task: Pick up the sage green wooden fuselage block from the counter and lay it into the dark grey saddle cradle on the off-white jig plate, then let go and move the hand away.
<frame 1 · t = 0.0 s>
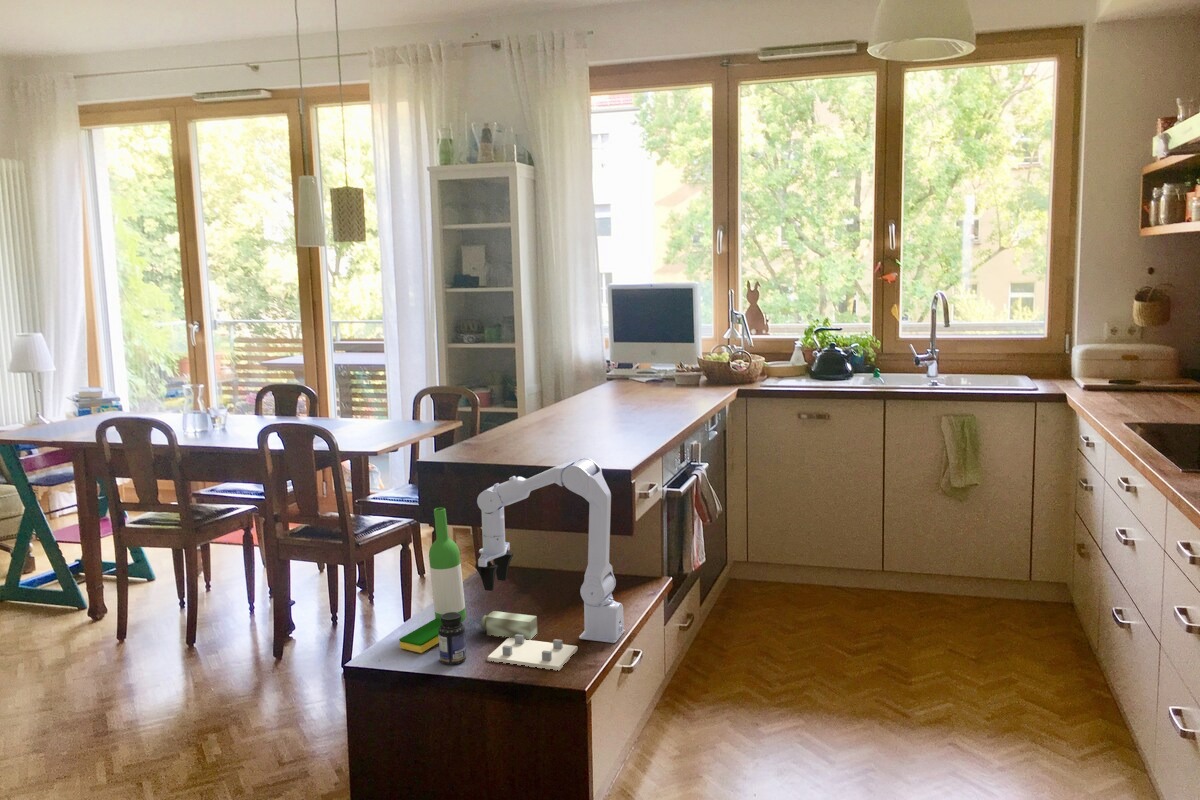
hand: (495, 585, 250), 10 cm above the table, tool pointing down, fingers open, 7 cm apart
pill bottle: (453, 661, 230), on the table
fuselage: (512, 635, 244), on the table
cradle jig: (533, 655, 231), on the table
dish sponge: (429, 640, 240), on the table, touching wine bottle
wine bottle: (451, 622, 250), point 1 cm above the table, touching dish sponge
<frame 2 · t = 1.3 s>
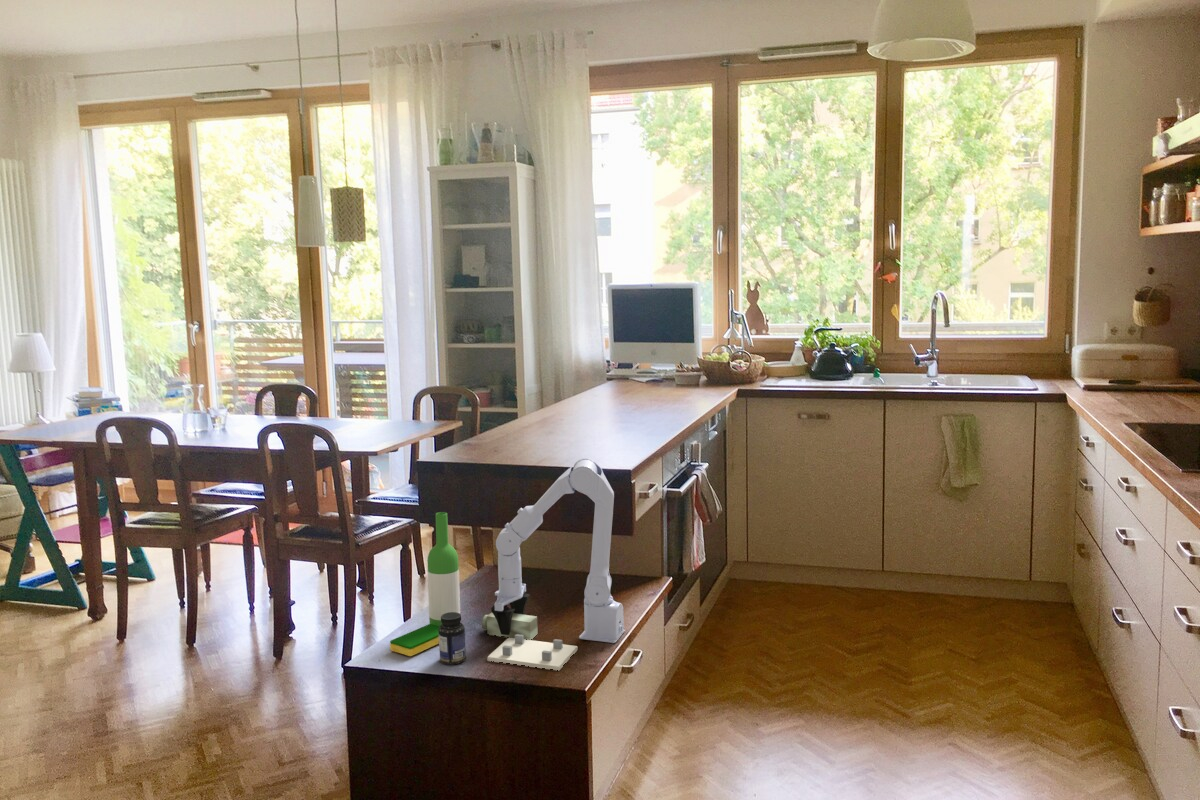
hand: (511, 628, 244), 2 cm above the table, tool pointing down, fingers open, 7 cm apart
dish sponge: (420, 645, 238), on the table, touching wine bottle
wine bottle: (445, 629, 248), on the table, touching dish sponge
everything else where it was.
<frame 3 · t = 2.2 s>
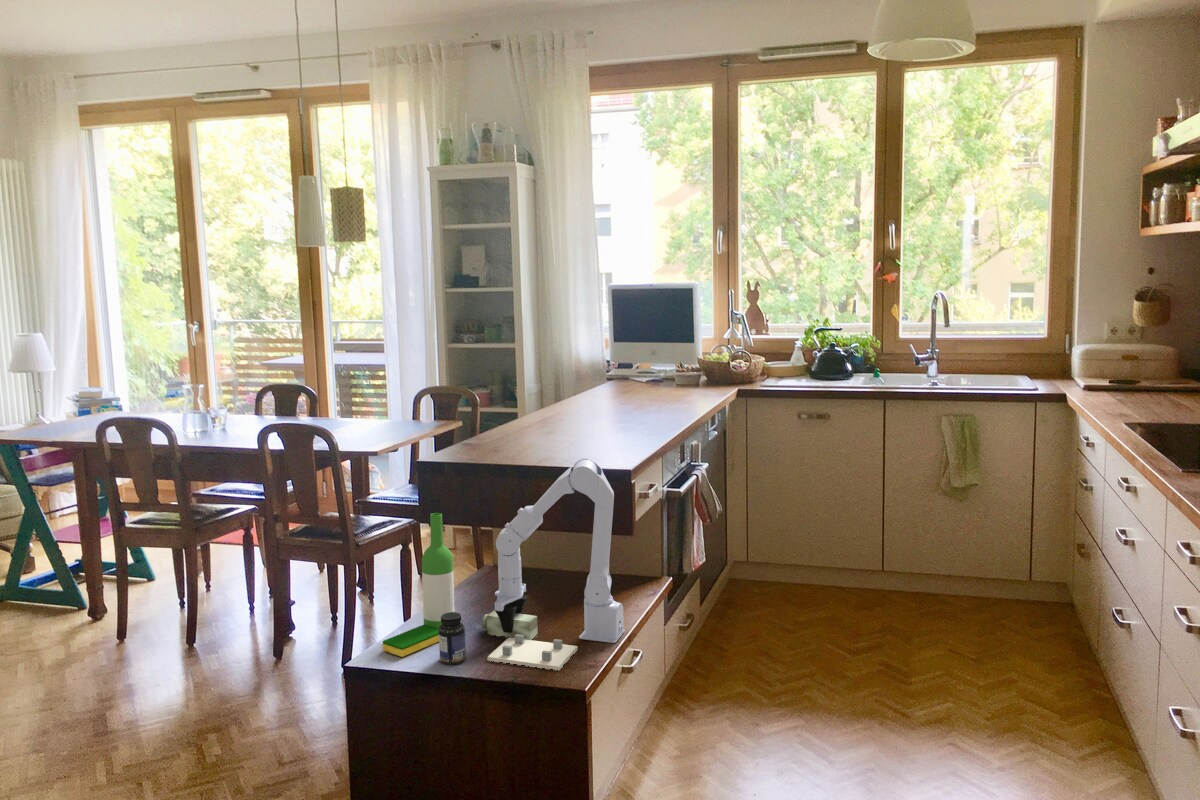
hand: (511, 628, 244), 2 cm above the table, tool pointing down, fingers closed on fuselage, 4 cm apart
fuselage: (512, 634, 244), on the table, touching gripper
dish sponge: (413, 645, 238), on the table, touching wine bottle
wine bottle: (439, 630, 248), on the table, touching dish sponge
everything else where it was.
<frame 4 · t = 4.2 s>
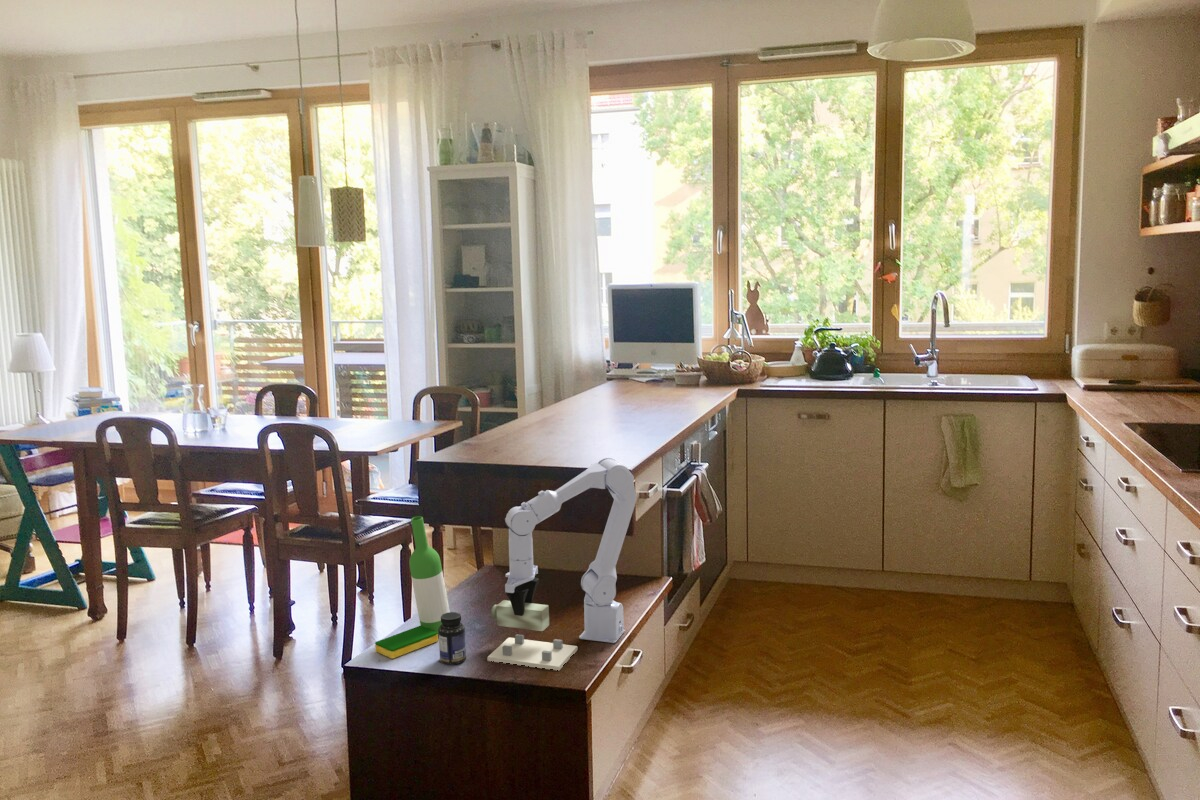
hand: (522, 611, 235), 9 cm above the table, tool pointing down, fingers closed on fuselage, 4 cm apart
fuselage: (523, 625, 236), point 5 cm above the table, touching gripper
dish sponge: (407, 647, 238), on the table, touching wine bottle
wine bottle: (437, 628, 247), point 1 cm above the table, touching dish sponge
everything else where it was.
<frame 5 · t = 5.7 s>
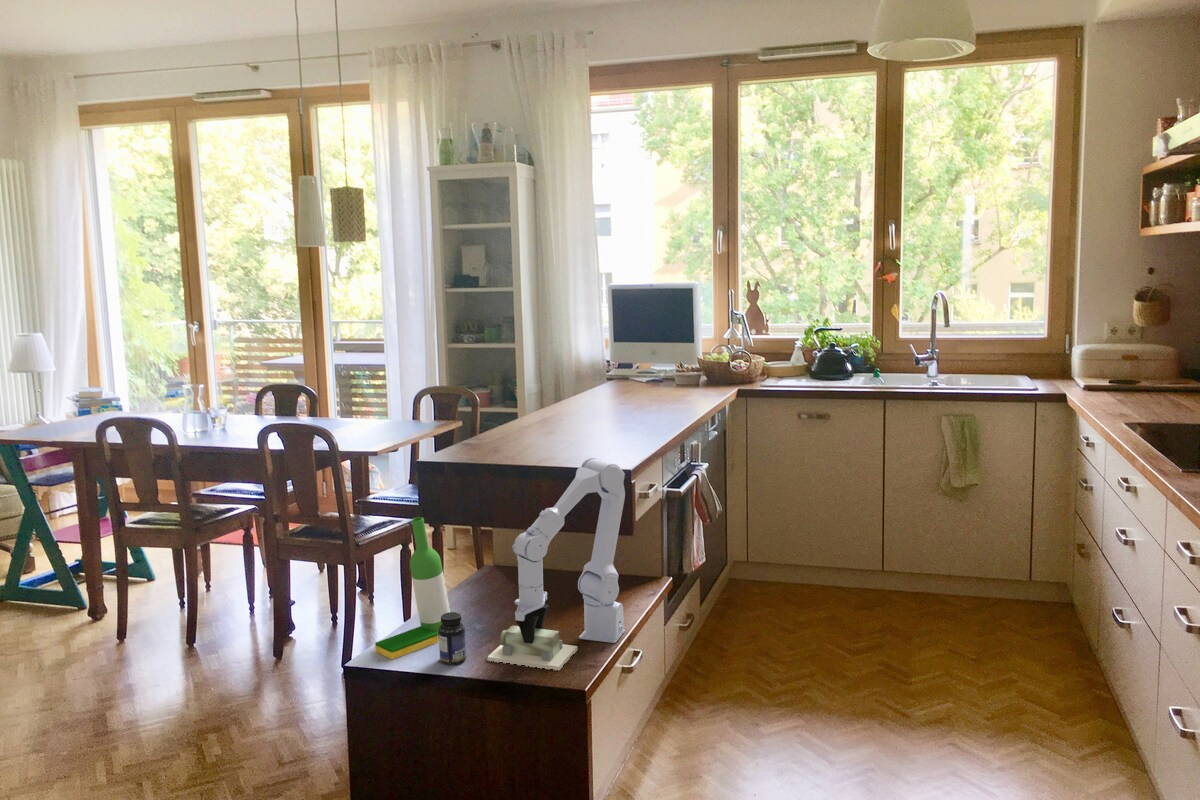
hand: (532, 638, 231), 4 cm above the table, tool pointing down, fingers closed on fuselage, 4 cm apart
fuselage: (532, 651, 231), point 1 cm above the table, touching cradle jig, gripper
everything else where it was.
when the fingers open (4 cm above the table, at t = 6.3 s): fuselage stays where it is, resting on cradle jig.
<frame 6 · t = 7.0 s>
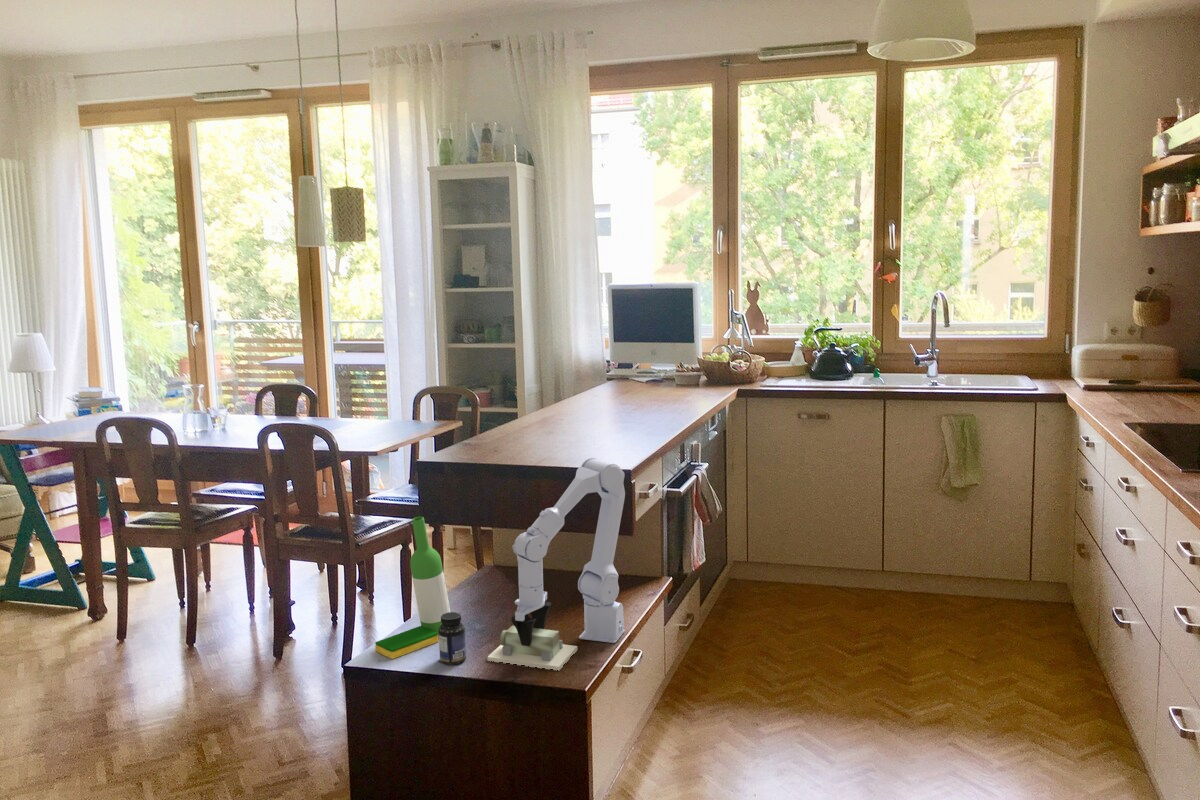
hand: (532, 639, 231), 4 cm above the table, tool pointing down, fingers open, 7 cm apart
fuselage: (532, 651, 231), point 1 cm above the table, touching cradle jig
everything else where it was.
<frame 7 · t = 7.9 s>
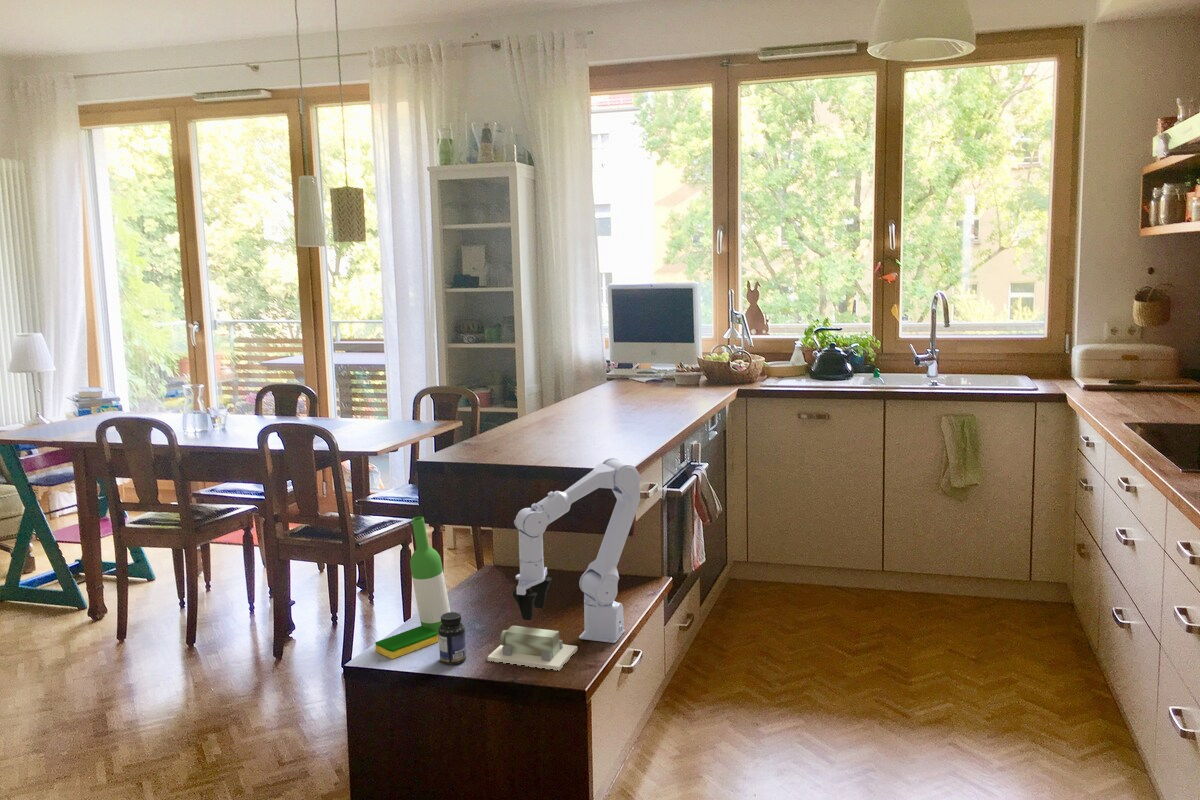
hand: (533, 613, 234), 9 cm above the table, tool pointing down, fingers open, 7 cm apart
nothing on the table moved.
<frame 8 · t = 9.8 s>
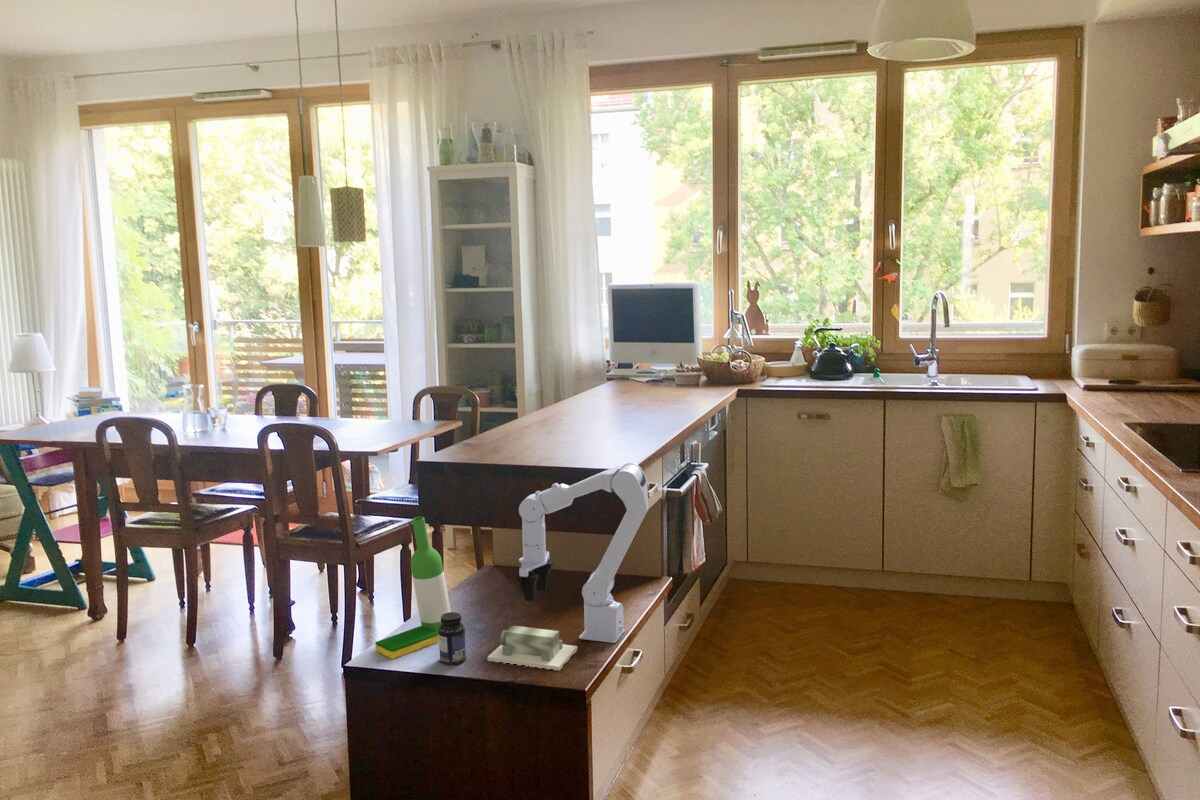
hand: (535, 595, 245), 9 cm above the table, tool pointing down, fingers open, 7 cm apart
nothing on the table moved.
at the end: fuselage 0.0 cm off-centre on the cradle jig, point 1.0 cm above the cradle jig's base; fuselage tilted 0°; the gripper is holding nothing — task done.
